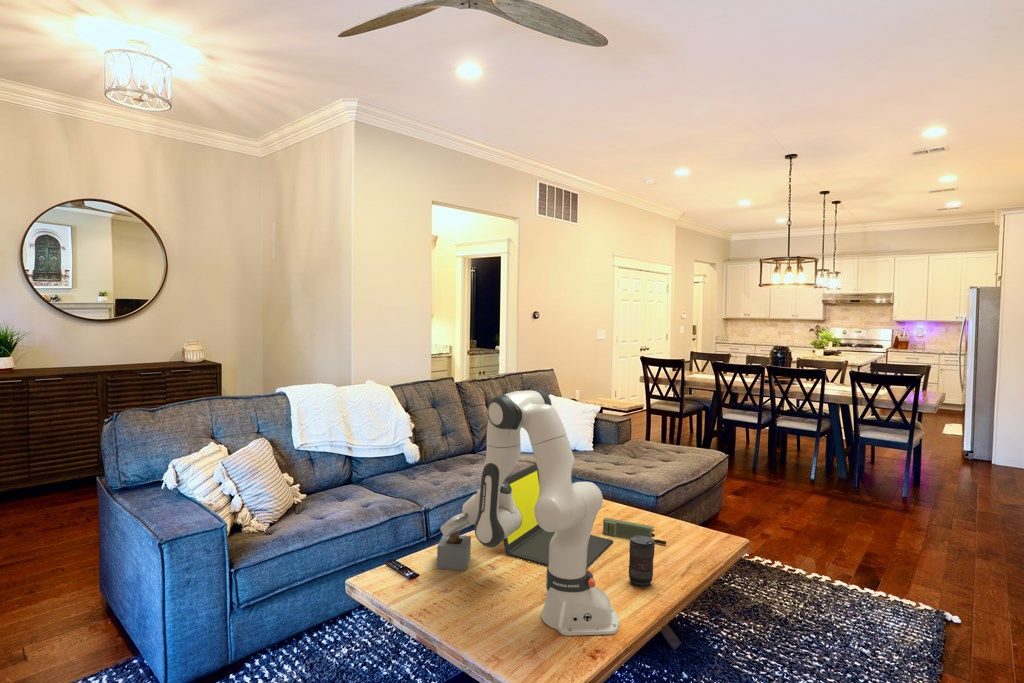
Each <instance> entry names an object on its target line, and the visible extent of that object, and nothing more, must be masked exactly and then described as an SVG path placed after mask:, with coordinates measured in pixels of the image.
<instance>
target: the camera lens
mask: <svg viewBox="0 0 1024 683" xmlns="http://www.w3.org/2000/svg"><path fill="white" fill-rule="evenodd" d="M653 539H654V538H653V537H652V538H650V537H647V536H640V535H638V536H633V537H631V540H629V552H628V553H629V561H628V562H629V563H628V564H629V565H628V578H629V583H630V584H631V586H633V587H635V588H638V589H646V588H647V589H648V588H649V587H651V585H652V584H651V583H652V582H653V577H654V557H655V548H656V547H655V545H656V544H655V542H654V540H653Z"/></svg>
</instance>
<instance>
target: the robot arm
mask: <svg viewBox="0 0 1024 683" xmlns="http://www.w3.org/2000/svg"><path fill="white" fill-rule="evenodd" d="M487 405H488V406H487V410H486V411H487V412H486V413H487V416H488V417H487V418H488V421H487V429H486V451H485V452H486V453H485V461H484V465H483V469H482V474H481V480H480V488H479V489H478V491H477V492H476V493H474V494H473V495H472V496H470V498H469V499H467V500H466V501H465V502H464V503H463V505H462V509H461V511H462V512H461V513H459V514H456V515H454V516H453V517H451V518H450V519H447V521H446V522H444V523H443V524H442V525H441V526H440V527H439V528H440V531H441V533H442V536H443V535H444V536H445V537H447V536H450V535H452V534H453V533H455V532H457V531H459V532H461V531H462V530H463V529H466V528H468V527H470V526H472V525H474V528H473V529H474V535H475V537H476V539H477V541H478V542H479V543H480V544H481V545H483V546H484V547H487V548H491V549H492V548H497V547H498V546H500V544H501V543H502V542H504V539H505V538H507V537H508V536H510V535H511V534H512V533H513V532H515V531H516V530H518V529H519V528H520V526H521V524H522V515H521V512H520V510H519V509H518V508H517V506H516V505H515V503H514V500H513V497H512V488H511V486H510V485H509V483H508V482H507V481H505V479H506V477H508V476H510V475H509V474H511V473H512V472H513V471H514V469H515V468H516V467H517V466H518V463H519V462H520V457H521V450H522V449H521V448H522V447H521V444H522V443H521V430H522V428H523V429H524V430H525V431H526V432H527V435H528V439H529V442H530V446H531V450H532V453H533V455H534V459H535V462H536V463H535V464H537V467H538V471H539V481H540V487H539V497H538V500H537V502H536V504H535V508H534V515H535V519H536V521H537V523H538V525H539V526H540V527H541V528H542V529H543V530H545V531H547V532H555V534H554V536H553V537H552V539H551V541H550V544H549V567H546V573H545V588H546V594H545V599H544V605H543V608H542V610H541V613H540V614H541V615H540V617H541V619H542V621H543V622H544V623H545V624H546V625H547V626H549V627H550V628H552V629H555V630H557V631H558V633H559V634H561V635H562V636H571V637H572V636H594V635H595V636H597V635H598V636H601V635H615V634H616V633H617V632H618V631H619V628H620V620H619V615H618V613H617V611H616V610H615V608H613V607H612V604H611V601H610V599H609V596H608V595H607V594H606V592H604V590H602V589H600V588H599V587H598V586H597V585H596V580H595V579H594V574H593V572H592V571H591V569H589V570H588V569H587V570H586V566H587V549H588V543H589V538H590V535H592V531H593V527H594V524H595V521H596V519H597V518H596V517H597V515H598V513H599V511H600V510H601V508H602V507H603V502H604V498H603V494H602V493H603V492H602V491H601V489H600V487H598V486H597V485H596V484H595V483H594V482H592V481H577V482H573V481H572V472H573V467H574V466H575V457H574V454H573V450H572V447H571V444H570V440H569V437H568V435H567V434H568V433H567V432H566V428H565V426H564V424H563V422H562V419H561V418H560V415H559V413H558V411H557V409H556V408H555V407H554V406H552V405H553V404H552V400H551V398H550V396H549V394H548V393H547V392H545V391H544V390H541V389H535V388H534V389H530V390H516V391H511V392H508V393H505V394H499V395H497V396H495V397H493V398H492V399H491V400H489V403H488V404H487Z"/></svg>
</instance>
